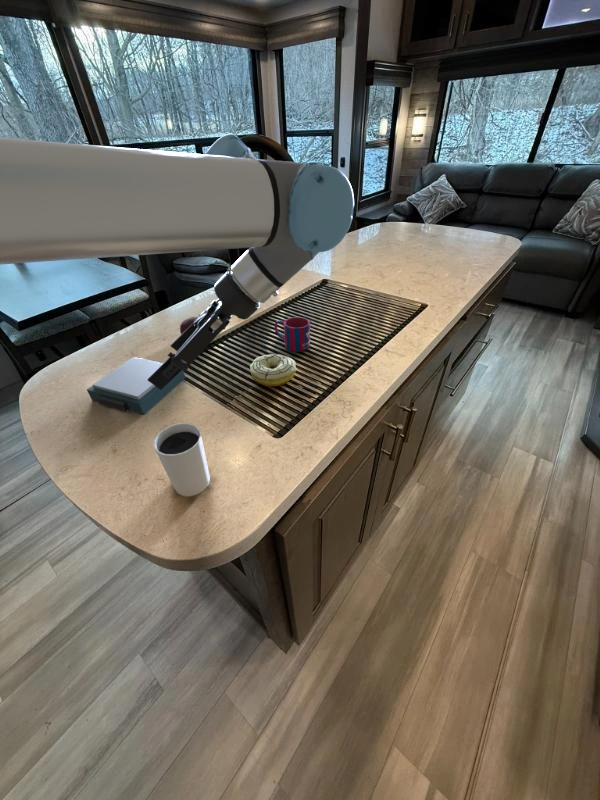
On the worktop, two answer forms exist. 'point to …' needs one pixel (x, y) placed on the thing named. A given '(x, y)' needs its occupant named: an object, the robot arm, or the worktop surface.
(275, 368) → the decorated donut
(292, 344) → the mug
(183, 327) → the plum
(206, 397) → the worktop surface
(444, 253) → the worktop surface
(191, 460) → the white coffee cup
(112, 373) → the scale
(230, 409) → the worktop surface
